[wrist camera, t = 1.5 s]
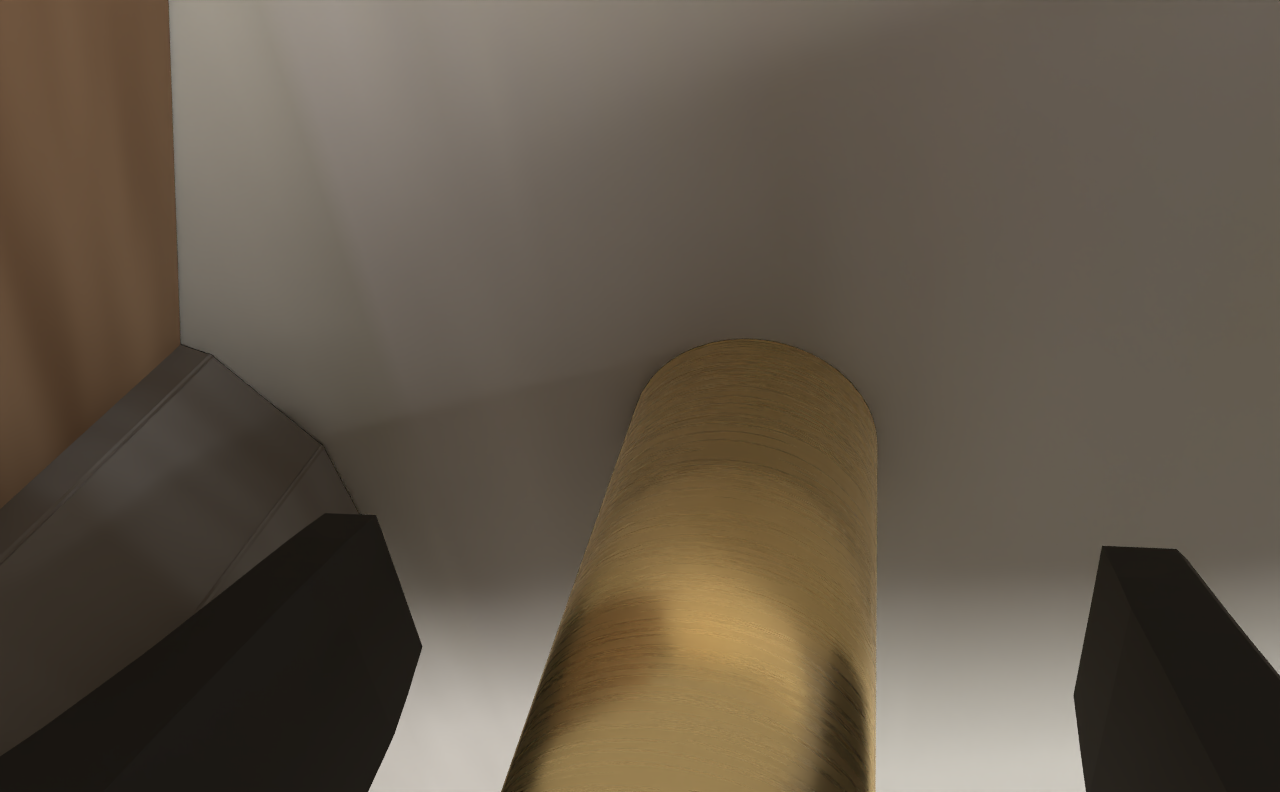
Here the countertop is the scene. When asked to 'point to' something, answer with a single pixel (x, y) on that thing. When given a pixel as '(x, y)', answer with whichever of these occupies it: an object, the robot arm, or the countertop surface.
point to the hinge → (113, 374)
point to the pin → (722, 592)
